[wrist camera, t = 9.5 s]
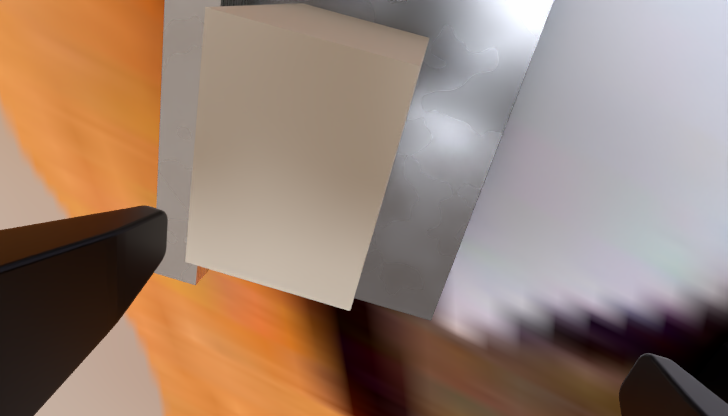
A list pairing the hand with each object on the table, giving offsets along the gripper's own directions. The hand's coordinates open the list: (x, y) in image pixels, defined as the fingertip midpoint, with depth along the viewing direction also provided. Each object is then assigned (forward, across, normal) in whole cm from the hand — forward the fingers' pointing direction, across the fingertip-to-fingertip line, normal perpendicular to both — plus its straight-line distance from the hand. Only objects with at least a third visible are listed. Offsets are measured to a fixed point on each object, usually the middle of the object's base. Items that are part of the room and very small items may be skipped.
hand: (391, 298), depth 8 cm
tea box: (+12, +3, 0) cm, 12 cm away
